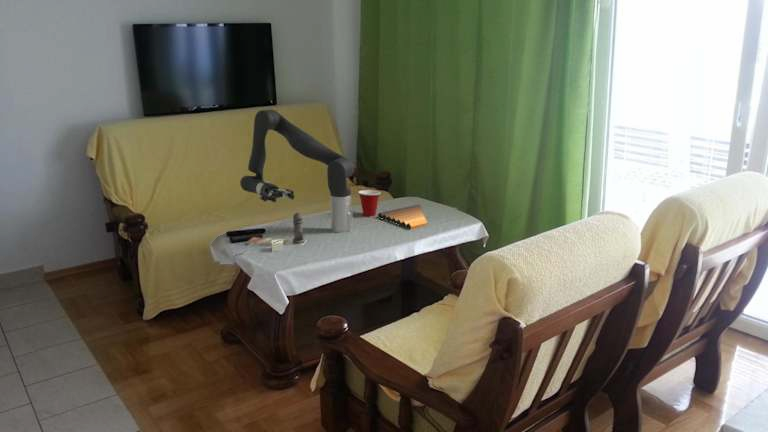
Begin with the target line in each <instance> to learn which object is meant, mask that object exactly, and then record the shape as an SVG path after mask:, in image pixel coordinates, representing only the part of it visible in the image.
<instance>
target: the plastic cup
mask: <svg viewBox="0 0 768 432" xmlns="http://www.w3.org/2000/svg"><path fill="white" fill-rule="evenodd" d="M358 194H359V198H360V204H361V209H362V213H363V214H362V215H363V216H364V217H366V216H372V217H375V216H376V212H377V208H378V203H379V202H378V201H379V198H380V195H381V191H379V190H372V189H371V190H370V189H367V190H359V191H358ZM374 215H375V216H374Z"/></svg>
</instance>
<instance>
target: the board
mask: <svg viewBox="0 0 768 432" xmlns="http://www.w3.org/2000/svg"><path fill="white" fill-rule="evenodd" d="M282 239H283V245H284V244H285V245H295V244H294V243H293V239H294V238H271V237H268V238H267V237H256V236H252V237H251V238H249V239H248V240H247V241H246V242H245V245H246V246H249V244H251V243H261V244H272V240H282ZM307 242H308V240H307V239H305V242H304V243H302V244H298V245H302V246H303V245H305V244H306V243H307Z"/></svg>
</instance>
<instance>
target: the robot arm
mask: <svg viewBox="0 0 768 432" xmlns="http://www.w3.org/2000/svg"><path fill="white" fill-rule="evenodd" d="M269 131H274V132H276V133H278V134H279V135H281V136H282V137H284V139H286V141H287V143H288V144H289V146H290V147H291V148H292V149H293V150H294V151H296V152H298V153H299V154H300V155H302V156H303V157H306V158H308V159H311V160H314V161H317V162H320V163H321V164H325V165H326V166H327V171H326V172H327V188H328V190H329V193H330V194H329V198H330V199H329V200H330V229H331V232H334V233H341V234H342V233H350V232H351V231H353V229H354V227H353V225H354V223H353V222H354V221H353V216H354V215H353V209H352V189H351V188H350V187H349V186H348V185H347V181H348V180H347V179H348V178H350V177H351V176H352V175H353V174H354V172H355V166H354V163H353V162H352V161H351V160H350V159H349V158H347V157H345V155H342V154H340V153H338V152H336V151H335V150H332V149H330V148H329V147H328V146H326V145H325V144H323V143H322V142H320V141H318V139H316V138H315V137H313V136H312V135H310V134H309V133H307V132H305V131H304V130H302V129H301V128H300V127H298V126H296V125H295V124H293V123H292V122H290V121H289V120H288V119H287V118H285V117H284V116H283V115H282V114H280V113H279V112H278V111H276V110H275V109H262V110H261V109H260V110H258V111H257V112H256V113H255V116H254V121H253V132H252V133H253V138H252V145H251V146H252V147H251V152H250V157H249V161H248V164H247V165H248V166H247V169H248V171H249V172H251V173H253V174H255V175H244V176H243V177H241V178H240V182H239V183H240V185H239V186H240V187H241V188H242V190H243V191H246V192H248V193H253V194H256V195H258V196H259V199H260V200H262V201H263V202H267V201H268V202H273V203H276V202H277V199H286V198H287V199H290V200H294V199H295V194H294V193H295V191H294V190H291V189H288V188H284V189H280V188H279V186H277V184H274V183H272V182H269V181H266V180H264V167H265V163H266V160H267V150H266V137H267V134H268V132H269Z"/></svg>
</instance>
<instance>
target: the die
mask: <svg viewBox="0 0 768 432" xmlns="http://www.w3.org/2000/svg"><path fill="white" fill-rule="evenodd" d="M281 239H282V240H272V243H271V250H272V252H284V244H283V239H284V238H281Z"/></svg>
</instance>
